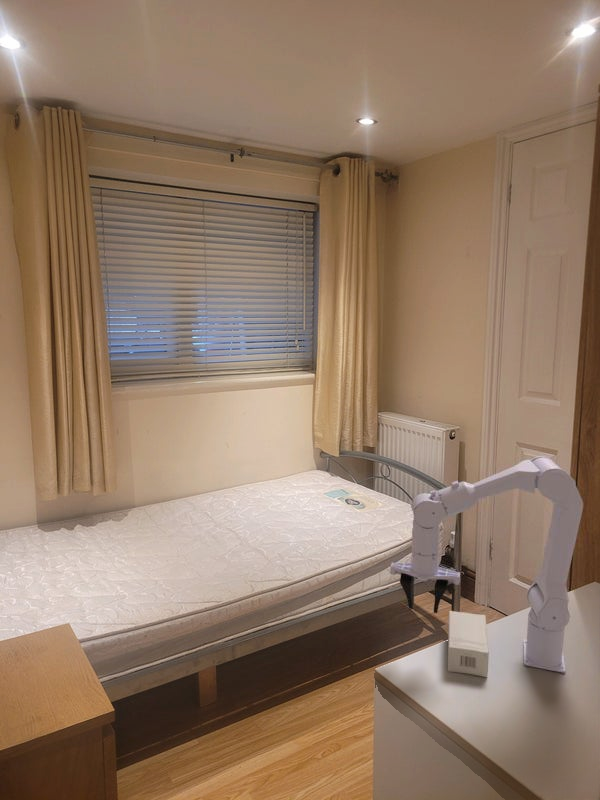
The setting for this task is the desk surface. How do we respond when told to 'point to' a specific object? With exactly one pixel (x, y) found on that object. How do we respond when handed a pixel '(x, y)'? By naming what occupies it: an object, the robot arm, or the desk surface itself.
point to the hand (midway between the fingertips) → (423, 608)
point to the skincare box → (468, 644)
